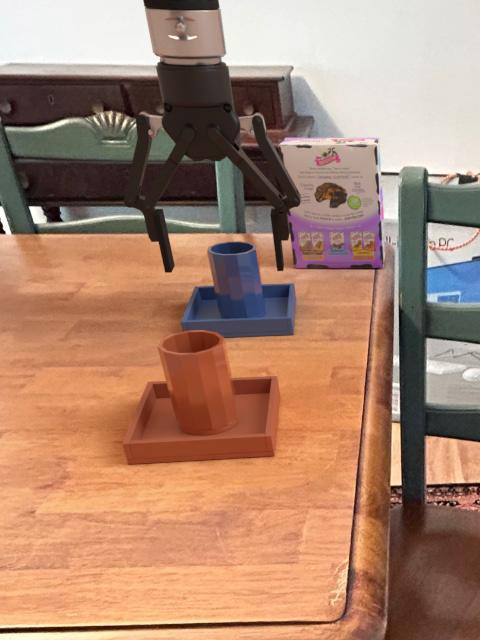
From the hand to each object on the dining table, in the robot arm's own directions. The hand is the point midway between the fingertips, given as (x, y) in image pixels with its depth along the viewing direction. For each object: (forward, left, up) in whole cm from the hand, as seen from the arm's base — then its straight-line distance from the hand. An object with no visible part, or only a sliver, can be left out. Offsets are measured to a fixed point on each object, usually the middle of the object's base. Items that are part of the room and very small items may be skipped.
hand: (225, 268), depth 92 cm
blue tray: (+1, -1, -6) cm, 6 cm away
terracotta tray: (0, -31, -6) cm, 32 cm away
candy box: (+14, +21, -6) cm, 26 cm away
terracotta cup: (0, -31, -5) cm, 31 cm away
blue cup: (+1, -1, -5) cm, 6 cm away
